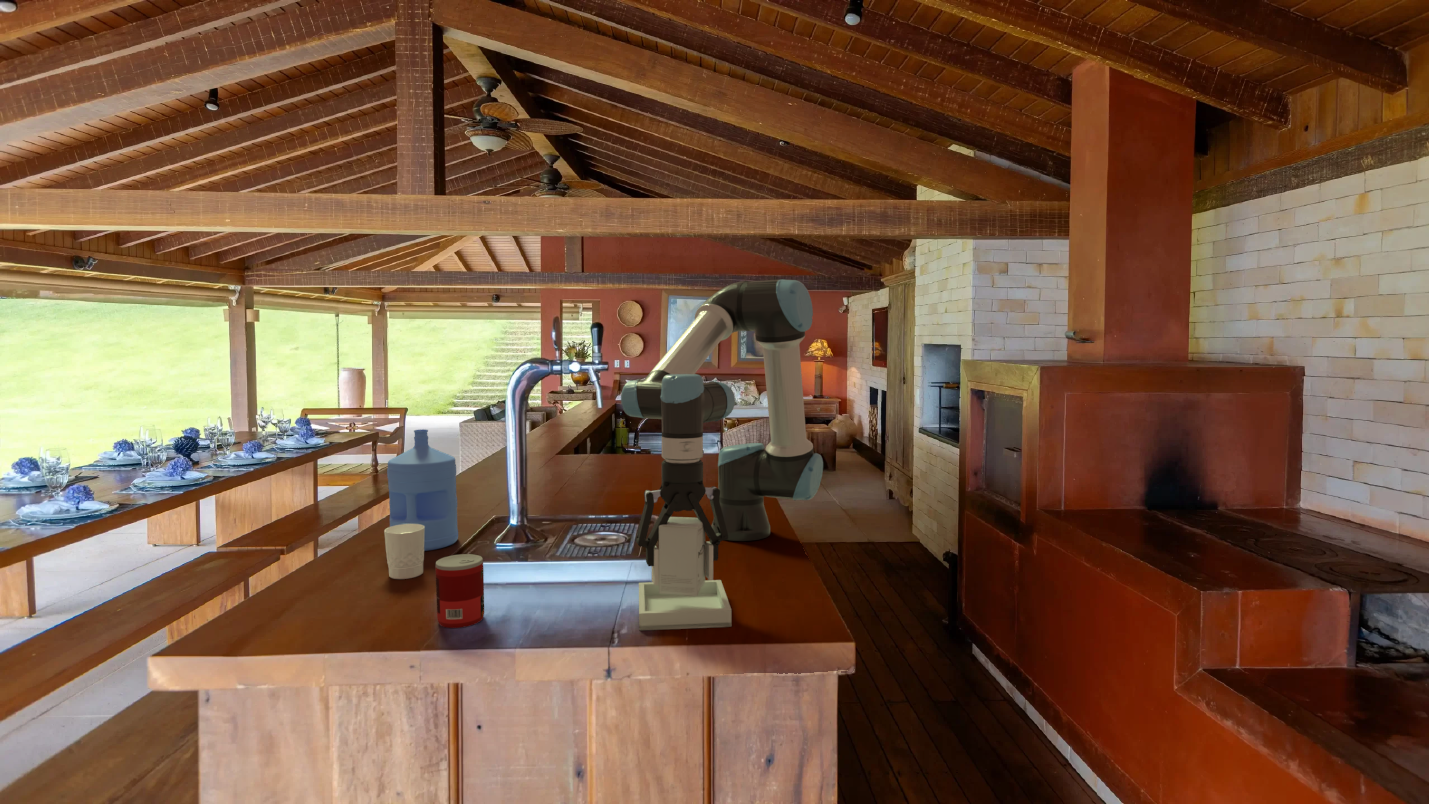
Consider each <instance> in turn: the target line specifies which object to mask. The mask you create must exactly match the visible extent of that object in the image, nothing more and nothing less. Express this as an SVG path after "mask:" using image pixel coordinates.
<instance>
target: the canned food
mask: <svg viewBox="0 0 1429 804" xmlns="http://www.w3.org/2000/svg"><path fill="white" fill-rule="evenodd" d="M484 576H485V575H484V559H483V557H482V556H481V555H477V554H472V553H464V554H463V553H462V554H453V555H452V554H451V555H449V556H444V557H441V558H439V559H438V560H436V561H435V592H436V593H435V594H436V596H435V597H436V616H437V617H436V619H437V622H438V625H439V626H441V627H442V628H448V629H460V628H466V627H470V626H474V625H476V624H478V623H480V622H481V621H482V620H483V619H484V616H485V587H484V586H485V584H484V583H485V582H484V579H485V577H484Z"/></svg>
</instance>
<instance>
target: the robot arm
mask: <svg viewBox="0 0 1429 804" xmlns="http://www.w3.org/2000/svg"><path fill="white" fill-rule="evenodd" d="M813 308H814V307H813V303H812V298H811V296H810V292H809V291H808V289H807V287H806V286H805V284H803V283H802V282H801V281H799V280H796V279H793V280H792V279H784V278H783V279H770V280H769V279H768V280H767V279H766V280H750V281H747V280H745V281H744V280H743V281H738V282H734V283H730V284H728V285H726V286H725V287H722V288H720V289H719V290H718V291H716V292H715V293H714V294H712V295H711V296H710V297H708V298H707V299H706V300H705V301H704V302H703V303H702V304H701V305H700V306H699V307H698V308H697V310H696V311H695V314H694V320H693V321H692V322H691V323H690V325H688V327H687V328H686V329H685V331H684V332H683V333H682V334H681V335H680V336H679V337H678V339H677V340H676V341H675V342H674V344H673V345H672V346H671V347H670V349H669V350H667V352H666V353H665V354H664V356H662V358H661V359H660V360H659V361H658V363H657V364H656V365H655V366H654V367H653V368H652V370H650V372H649V373H648V375H647V376H646V377H644V379H642V380H641V379H636V380H630V381H627V382H626V383H625V384H624V385H623V387H622V391H621V393H620V394H621V395H620V403H621V406H622V409H623V411H624V413H625V414H626V415H627V416H629V417H631V418H632V417H633V418H641V419H645V420H646V419H649V420H650V419H652V420H653V419H654V420H655V419H656V420H657V419H658V420H661V457H662V459H664V460H663V461H661V485H660V487H659V489H657V490H649V489H646V490H644V492H643V498H644V505H643V508H642V514H641V517H640V521H639V525H638V529H637V532H636V537H635V542H636V544H637V545H638V546H639V547H641V548H642V547H643V548H645V562H646V565H647V566H648V567H651V582H653V584H654V585H659V547H657V546H656V545H657V543H658V542H659V526H660V525H664V524H667V522H668V520H669V518H670V517H673V516H672V515H673V514H674V512H677V513H678V512H682V511H687V512H691V511H693V512H694V514H695V516H696V518H698V519H699V520H700V521H701V522H702V524H703V526H704V529H705V535H706V536H707V537H708V540H709V541H705V578H707V580H714V562H715V561H716V562H717V561H718V560H719V546H720V545H721V542H722V541H730V542H731V541H732V542H733V541H734V542H751V541H758V540H763V539H765V538H766V539H767V538H769V536H770V535H771V525H770V522H769V517H768V515H767V512H766V507H765V505H764V504H765V503H764V502H765V501H764V498H765V497H767V498H774V499H775V498H777V499H785V500H792V501H810V500H812V499H813V498H814V497H815V496H816V494H817V493H818V490H819V488H820V485H821V481H822V479H823V478H822V477H823V470H824V460H823V457H822V455H821V454H819V453H817V452H814V443H812V441H811V440H809V439H807V431H806V418H805V417H806V416H805V403H804V392H803V391H804V388H803V377H802V375H803V374H802V365H801V364H802V361H801V348H800V343H802V341H803V340H804V339H805V337H806V331H809V330H810V329H811V327H812V324H813V316H814V312H813V311H814V309H813ZM736 332H737V333H738V332H754V336H755V342H757V343H758V344H759V345H760V346H761V347H762V355H763V364H764V367H763V368H764V374H765V375H764V376H765V387H766V398H767V409H768V421H769V432H770V433H769V434H770V441H769V443H768V444H767V445H766V447H765V445H764V443H763V442H759V443H758V442H749V443H739V444H733V445H729V446H725V447H722V448H721V449H720V450H719V452H718V459H717V460H718V461H717V471H718V472H717V473H718V474H717V476H718V478H717V479H718V480H717V483H718V485H717V487H716V486H711V487H708V486H707V487H706V486H705V485H704V462H703V460H701V459H702V458H703V457H704V441H703V440H704V423H710V422H718V421H721V420H722V419H725V418H727V417H729V416H730V414H732V412H733V411H734V408H735V403H736V401H735V394H734V392H733V390H732V389H731V387H730V386H729V385H727V384H725V382H720V381H708V382H704V379H703V377H702V376H701V375H700V374H697V371H698V370H699V369H700V368H701V367H702V365H703V364H704V363H705V361H706V360H707V359H708V357H709V356H710V355H711V354H712V353H713V351H714V350H715V349H716V347H718V344H719V343H721V341H725V340H727V339H728V338H729V337H730V336H731V335H732V334H733V333H736ZM704 496H706V497H707V499H709V503H710V507H711V511H712V513H713V514H712V515H713V520H712V522H711V523H710V521H709V519H708V517H707V515H706V513H705V512H704V509H703V507H702V506H701V504H700V502H701V500H702V499H703V497H704ZM659 497H661V499H662V500H663V501H664V503H663V506H662V508H661V511H660V513H659V515H658V516H657V519H656V521H655V523H654V525H653V527H652V528H651V531H650V533H649V534H648V531H649V529H650V528H649V527H650V524H651V520H652V516H653V512H654V508H655V504H656V503H658V499H659ZM647 535H648V537H647Z"/></svg>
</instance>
